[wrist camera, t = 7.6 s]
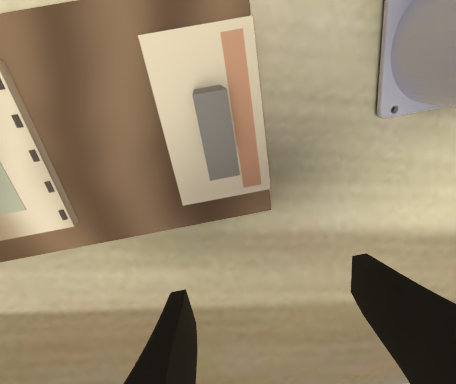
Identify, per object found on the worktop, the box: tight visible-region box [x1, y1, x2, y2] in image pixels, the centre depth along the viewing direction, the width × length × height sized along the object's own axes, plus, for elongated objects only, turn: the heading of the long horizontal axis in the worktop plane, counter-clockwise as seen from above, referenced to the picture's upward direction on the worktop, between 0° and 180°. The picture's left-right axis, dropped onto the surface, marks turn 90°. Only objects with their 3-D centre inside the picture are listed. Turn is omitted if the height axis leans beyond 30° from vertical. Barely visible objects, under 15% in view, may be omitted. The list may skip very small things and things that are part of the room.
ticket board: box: [0, 0, 271, 262], centre depth 16 cm, size 22×14×2 cm, turn 99°
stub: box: [138, 15, 271, 206], centre depth 14 cm, size 6×10×4 cm, turn 9°
